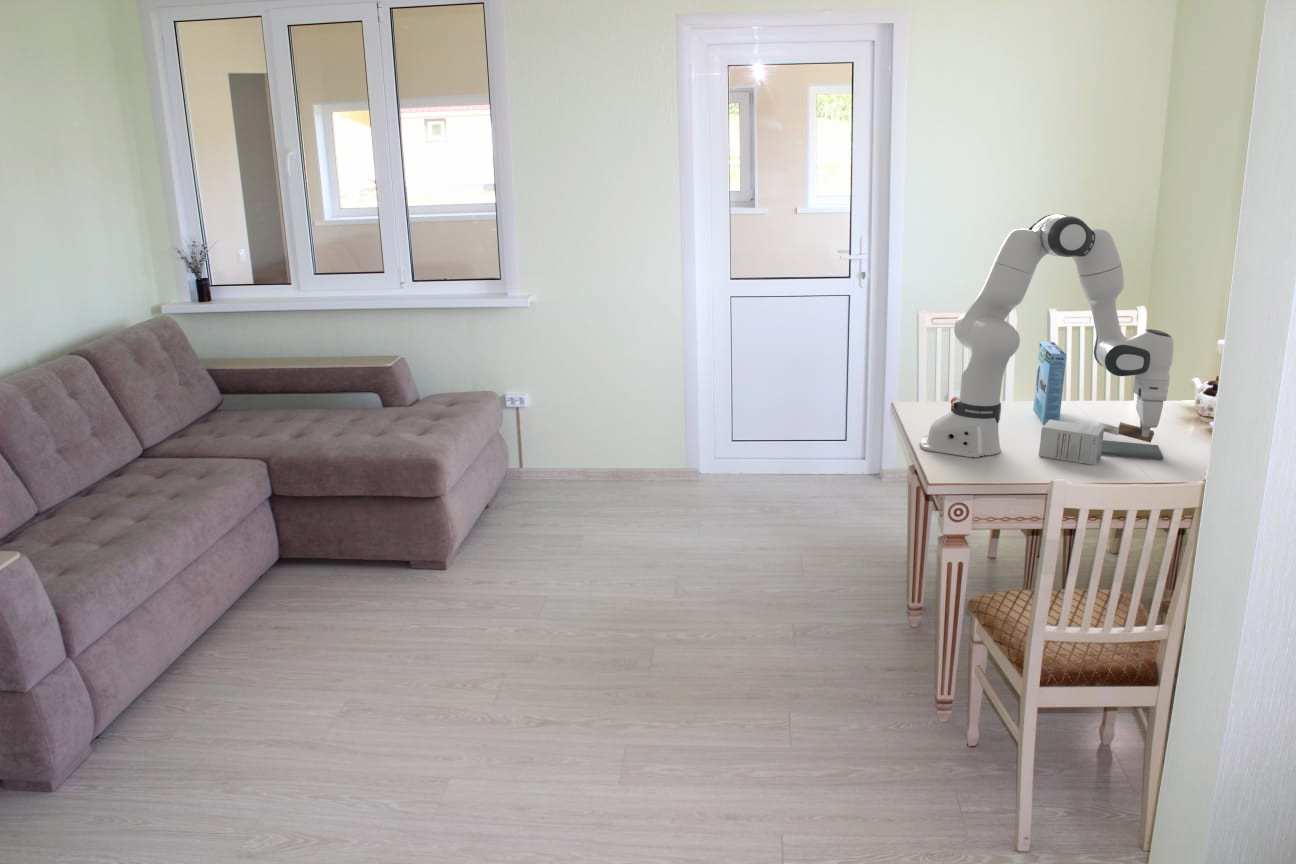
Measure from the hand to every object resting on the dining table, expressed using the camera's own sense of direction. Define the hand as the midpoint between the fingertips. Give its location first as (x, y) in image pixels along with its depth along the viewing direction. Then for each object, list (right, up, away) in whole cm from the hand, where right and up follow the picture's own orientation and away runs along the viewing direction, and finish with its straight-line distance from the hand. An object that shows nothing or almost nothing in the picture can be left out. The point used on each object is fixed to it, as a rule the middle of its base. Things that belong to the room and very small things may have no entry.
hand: (1143, 434), depth 283 cm
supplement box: (-16, -3, -8) cm, 18 cm away
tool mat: (-5, -5, +3) cm, 7 cm away
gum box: (-13, +5, +38) cm, 40 cm away
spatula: (-5, 0, +2) cm, 5 cm away
